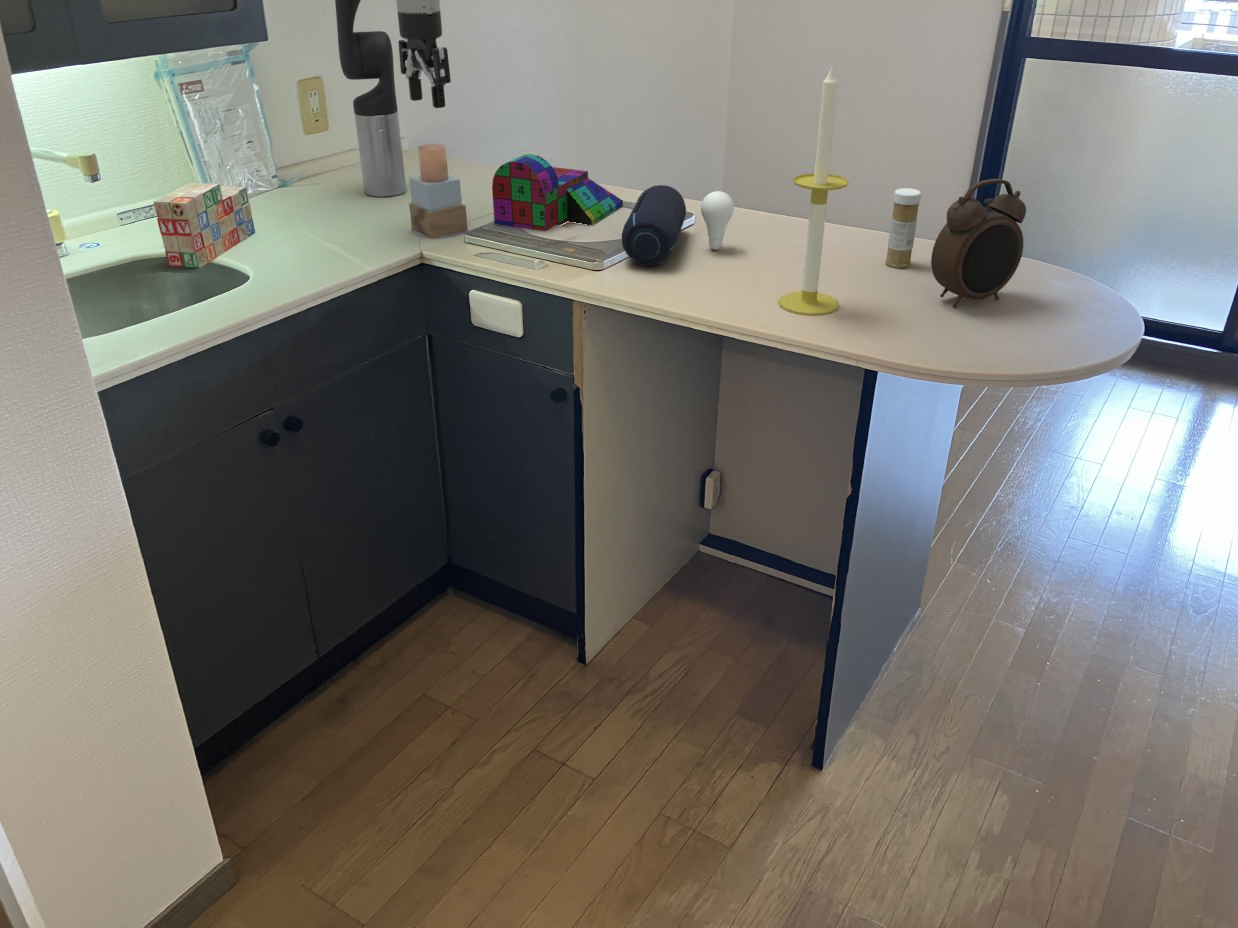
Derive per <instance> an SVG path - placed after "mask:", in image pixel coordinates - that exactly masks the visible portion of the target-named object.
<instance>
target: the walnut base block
mask: <svg viewBox="0 0 1238 928" xmlns="http://www.w3.org/2000/svg"><path fill="white" fill-rule="evenodd" d="M408 205H409V215H410V225H411V230H412V229H413V230H415V231H417V232H420V233H422V234H424V235H426V236H428V237H430V238H431V239H432V240H434V239H433V238H437V237H441V236H446V235H450V234H455V233H459V232H464V231H466V232H468V230H469V227H468V217H467V207H466V205H465V204H463V203H462V205H460V206H455V207H451V208H446V209H441V210H437V211H432V212H429V211H427V210H425V209H423V208H420V207H418V206H416V205H414V204H412V202H410V203H408ZM467 227H468V228H467Z"/></svg>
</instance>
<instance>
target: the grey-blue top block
mask: <svg viewBox="0 0 1238 928" xmlns="http://www.w3.org/2000/svg"><path fill="white" fill-rule="evenodd" d="M408 180H409V188H410V196H411V203H412V204H414V205H416V206H418V207H420V208H423V209H425V210H427V211H429V212H432V211H437V210H441V209H446V208H451V207H455V206H460V205H462V204H463V203H462V191H461V190H462V189H461V182H460V181H461V180H460V179H459V178H457V177H454V176H451V175H450V174H448V180H446V181H443V182H435V183H430V182H424V181H422V180H421V175H418V176H414V177H413V176H412V177H409V179H408Z"/></svg>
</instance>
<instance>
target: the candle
mask: <svg viewBox="0 0 1238 928" xmlns="http://www.w3.org/2000/svg"><path fill="white" fill-rule="evenodd" d="M834 69H835V68H834V67H833V63H831V67H830V68H829V72H828V74H827V75H826V78H825V79H824V80H823V81H822V91H821V102H820V110H819V111H820V113H819V123H818V133H817V143H816V153H815V154H816V155H815V163H814V164H815V166H814V173H805V174H799V175H796V176H794V178H792V181H793V184H794V185H795V186H797V187H800V188H801V189H802V188H803V189H806V190H811V192H810V202H809V204H810V205H809V217H808V226H807V237H806V246H805V247H806V248H805V256H804V257H805V258H804V269H803V277H802V291H794V292H788V293H785V294H784V295H782V296H780V298H779V299H778V301H777V302H778V305H779V307H780V308H782V309H783V310H785V311H787V312H790V313H793V314H797V315H802V316H803V315H804V316H822V315H823V316H824V315H830V314H832V313H834V312H836V311H838V310H839V308H840V303H839V301H838V299H837V298H836V297H833V296H831V295H829V294H825V293H822V292H818V291H819V282H820V281H819V280H820V271H821V263H822V262H821V261H822V251H823V244H824V243H823V242H824V232H825V221H826V213H827V212H826V211H827V203H828V195H829V194H828V192H829V191H836V190H841V189H843V188H847V186H848V184H850V183H849V180H848V179H847V178H846V177H843V176H840V175H836V174H829V171H830V161H831V152H832V151H831V150H832V142H833V132H834V123H835V122H834V121H835V116H836V115H835V114H836V104H837V103H836V101H837V93H838V84H839V83H838V80H837V79H836V76H835V72H834V71H835V70H834Z"/></svg>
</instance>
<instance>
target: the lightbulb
mask: <svg viewBox="0 0 1238 928" xmlns="http://www.w3.org/2000/svg"><path fill="white" fill-rule="evenodd" d="M700 212H701V216H702V217H703V220H704V223H705V224H706V228H707V236H708V247H709V248H711V249H712V250H714V251H717V250H719V249H721V248H722V247H723V242H724V237H725V233H726V228H727V226H728V223H729V222H730V220H731V218H732V217H733V214H734V212H735V204H734V201H733V199H732V197H731V196H730V195H729V194H728V193H726V192H724V191H719V190H715V191H712V192H710V193H708V194H707V195H706V196H705V197H704V198H703V199H702V201H701V204H700Z"/></svg>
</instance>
